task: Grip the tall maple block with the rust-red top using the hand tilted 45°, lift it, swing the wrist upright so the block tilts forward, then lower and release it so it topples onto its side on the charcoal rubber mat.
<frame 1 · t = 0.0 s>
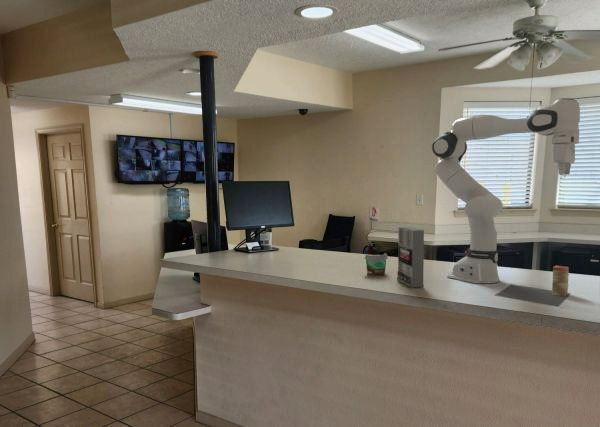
hand: (564, 174, 164), 48 cm above the worktop, tool pointing down, fingers open, 8 cm apart
charcoal mat: (532, 295, 163), on the worktop
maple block: (559, 294, 163), resting on charcoal mat
food container: (378, 275, 202), on the worktop
cassette tape recorder: (409, 284, 184), on the worktop
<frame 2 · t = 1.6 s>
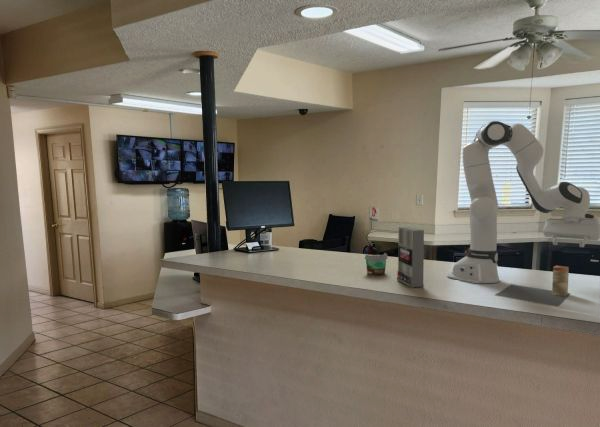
hand: (567, 245, 170), 19 cm above the worktop, tool tilted 45°, fingers open, 8 cm apart
nothing on the worktop moved.
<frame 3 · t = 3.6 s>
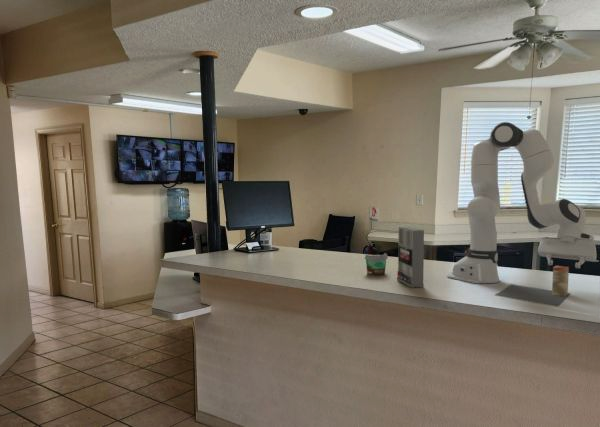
hand: (563, 265, 164), 11 cm above the worktop, tool tilted 45°, fingers open, 8 cm apart
nothing on the worktop moved.
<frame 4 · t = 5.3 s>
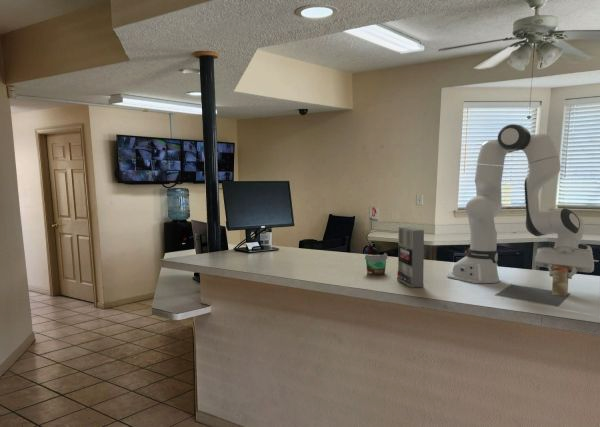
hand: (560, 276, 162), 8 cm above the worktop, tool tilted 45°, fingers closed on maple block, 4 cm apart
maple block: (559, 294, 163), resting on charcoal mat, touching gripper
everything else where it was.
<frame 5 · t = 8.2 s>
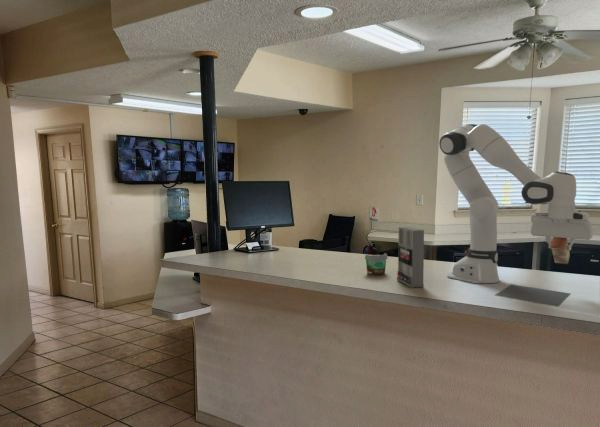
hand: (559, 249, 159), 19 cm above the worktop, tool pointing down, fingers closed on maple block, 4 cm apart
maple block: (562, 258, 164), point 14 cm above the worktop, tilted 45°, touching gripper
everything else where it was.
when the fingers open (7 cm above the worktop, at t = 11.2 s): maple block moves 2 cm and tips over, resting on charcoal mat.
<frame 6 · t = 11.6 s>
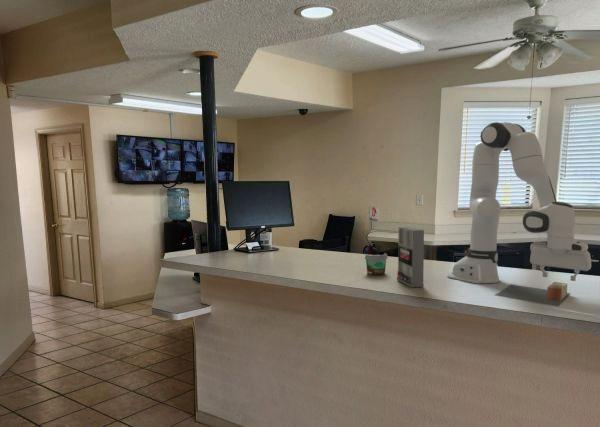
hand: (558, 278, 160), 7 cm above the worktop, tool pointing down, fingers open, 8 cm apart
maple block: (560, 288, 164), point 3 cm above the worktop, tilted 90°, touching charcoal mat
everything else where it was.
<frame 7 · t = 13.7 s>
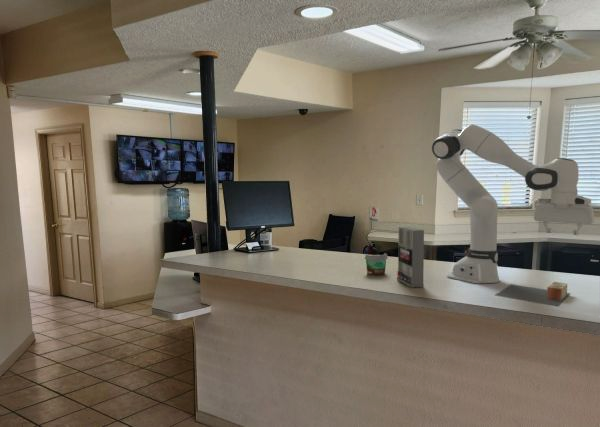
hand: (561, 233, 163), 24 cm above the worktop, tool pointing down, fingers open, 8 cm apart
nothing on the worktop moved.
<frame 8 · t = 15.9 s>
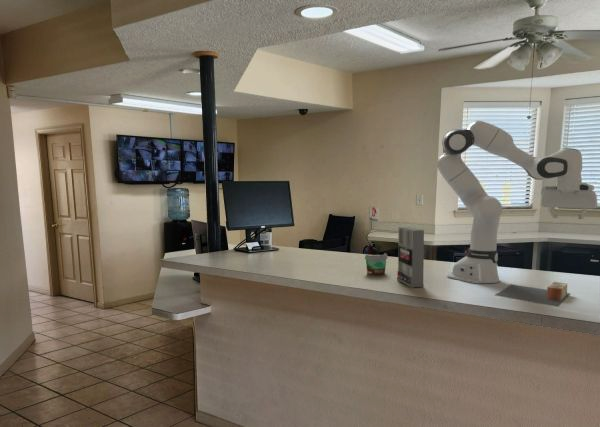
hand: (567, 218, 176), 29 cm above the worktop, tool pointing down, fingers open, 8 cm apart
nothing on the worktop moved.
at the end: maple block tilted 90°; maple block inside the target area (8.0 cm from its centre), point 2.6 cm above the worktop; the gripper is holding nothing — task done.
